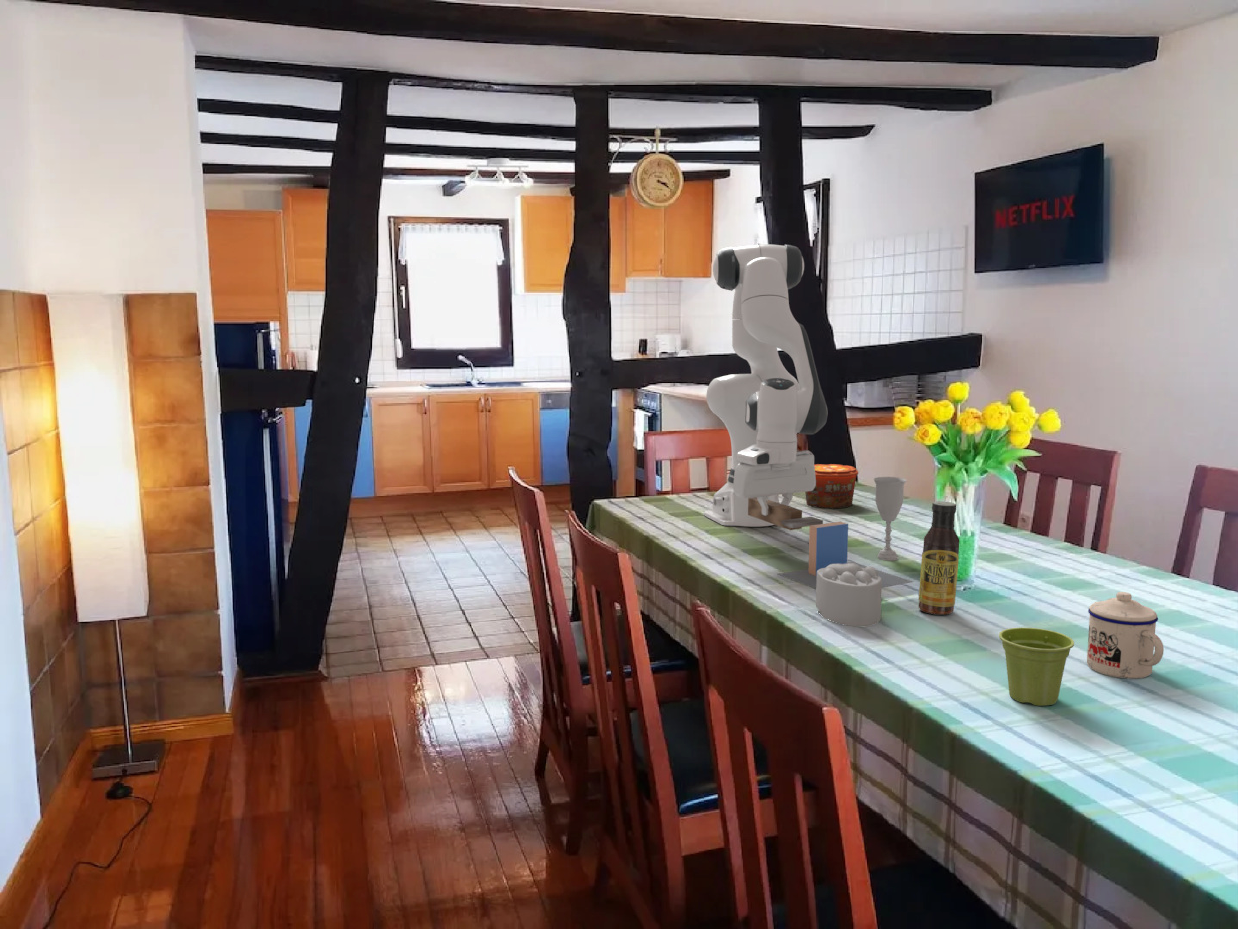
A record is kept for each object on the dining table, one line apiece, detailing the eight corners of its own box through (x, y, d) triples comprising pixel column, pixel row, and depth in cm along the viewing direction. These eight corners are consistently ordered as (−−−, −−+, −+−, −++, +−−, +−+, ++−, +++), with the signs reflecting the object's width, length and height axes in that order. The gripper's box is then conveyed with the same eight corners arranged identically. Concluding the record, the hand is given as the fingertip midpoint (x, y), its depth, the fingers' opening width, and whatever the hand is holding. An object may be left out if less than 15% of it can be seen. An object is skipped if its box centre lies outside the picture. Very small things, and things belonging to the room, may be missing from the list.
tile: (808, 573, 192) (809, 525, 190) (839, 568, 195) (840, 521, 194) (816, 576, 189) (817, 528, 188) (846, 570, 193) (848, 523, 191)
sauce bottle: (918, 615, 165) (922, 505, 162) (917, 605, 171) (921, 499, 168) (957, 617, 163) (962, 507, 160) (955, 607, 169) (959, 500, 166)
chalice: (905, 565, 199) (908, 482, 197) (872, 564, 201) (874, 481, 198) (901, 557, 206) (904, 477, 204) (870, 555, 208) (872, 476, 205)
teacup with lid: (1071, 661, 142) (1075, 587, 140) (1121, 655, 144) (1126, 582, 142) (1131, 690, 130) (1137, 610, 129) (1185, 684, 132) (1191, 605, 131)
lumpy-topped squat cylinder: (864, 603, 173) (866, 558, 171) (892, 625, 160) (893, 576, 159) (810, 606, 172) (811, 560, 170) (833, 628, 159) (834, 579, 158)
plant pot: (982, 688, 132) (984, 629, 130) (1039, 682, 134) (1043, 624, 133) (1024, 715, 123) (1028, 652, 121) (1086, 707, 125) (1090, 645, 123)
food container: (789, 502, 271) (790, 466, 269) (832, 497, 278) (833, 462, 277) (825, 512, 257) (825, 473, 255) (869, 506, 264) (870, 469, 263)
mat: (776, 576, 191) (776, 573, 191) (852, 564, 200) (852, 561, 200) (834, 598, 175) (834, 595, 175) (913, 584, 184) (913, 581, 184)
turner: (738, 516, 213) (739, 499, 212) (767, 512, 217) (767, 495, 216) (792, 535, 196) (792, 517, 195) (822, 531, 199) (823, 513, 198)
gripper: (805, 447, 212) (803, 506, 215) (730, 454, 203) (728, 515, 206) (822, 451, 207) (820, 511, 209) (746, 458, 198) (745, 521, 200)
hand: (774, 513), depth 207 cm, fingers closed on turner, 3 cm apart
